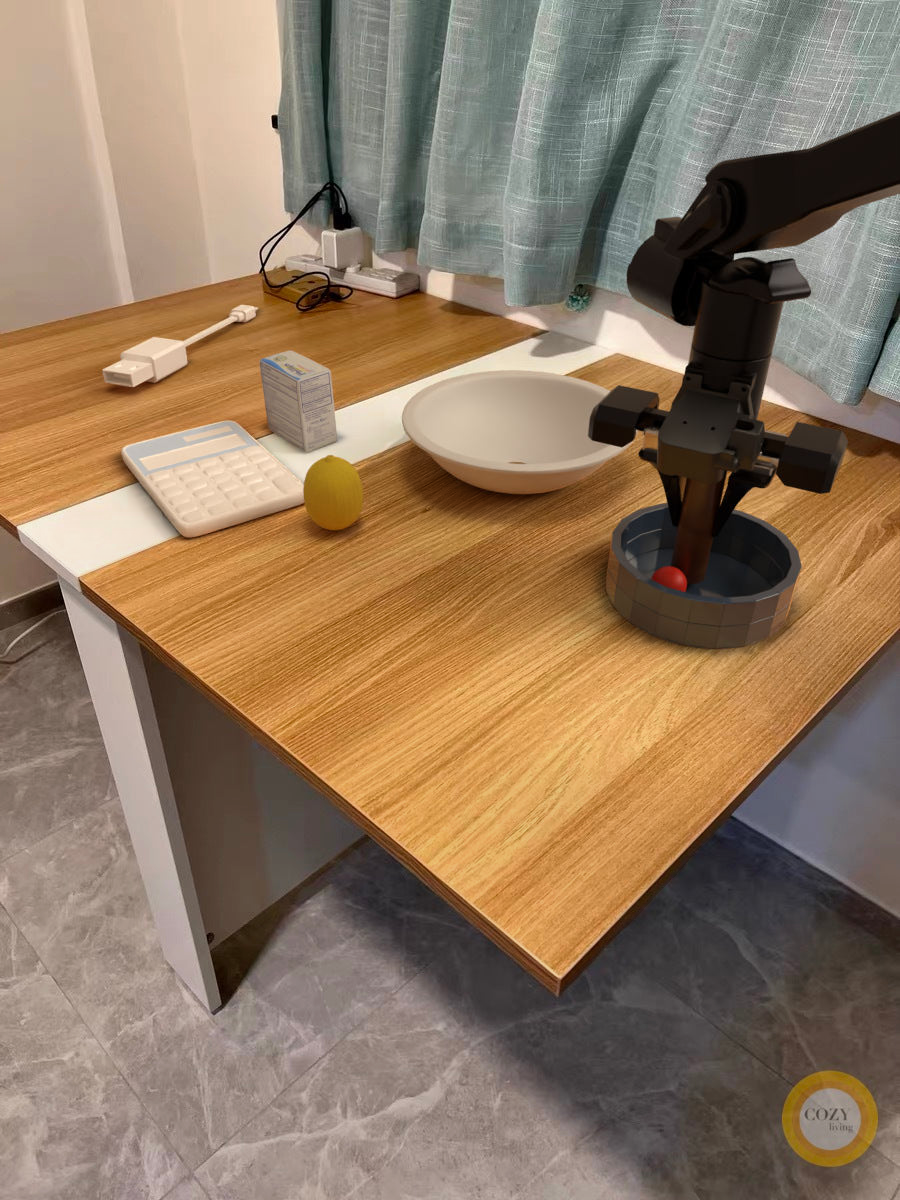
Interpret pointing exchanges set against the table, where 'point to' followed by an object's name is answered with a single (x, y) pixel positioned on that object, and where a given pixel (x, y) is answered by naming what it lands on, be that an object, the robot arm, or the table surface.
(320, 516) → the lemon
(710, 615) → the bowl
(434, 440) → the soup bowl
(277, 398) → the medicine box
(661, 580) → the tomato
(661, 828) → the table surface
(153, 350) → the charging cable
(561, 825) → the table surface
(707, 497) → the brown cylinder
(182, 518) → the calculator
